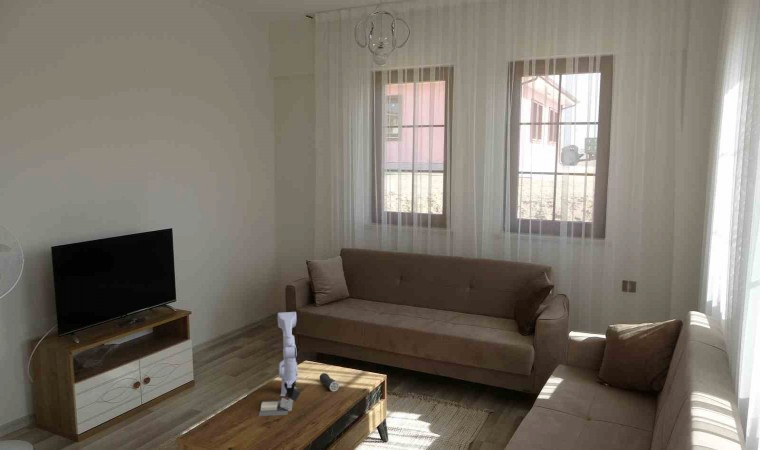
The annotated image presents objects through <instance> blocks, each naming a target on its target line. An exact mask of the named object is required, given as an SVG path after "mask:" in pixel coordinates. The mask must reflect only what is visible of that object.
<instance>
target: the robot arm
mask: <svg viewBox="0 0 760 450" xmlns="http://www.w3.org/2000/svg"><path fill="white" fill-rule="evenodd" d="M296 325H297V312H296V311H290V312H289V311H287V312H286V311H285V312H283V311H282V312H280V311H279V312H278V313H277V326H278V328H280V329H281V331H282V336H283V337H282V339H283V343H282V344H283V349H282V355H283V359H282V360H281V361H280V362H279V363H278V377H279V378H281V389H280V390H281V391H280V397H286V396H285V394H286V392H287V395H288V397H292V396H293V390H294V388H296V386H297V385H296V382H297V381H298V380H299V377H298V375H299V373H298V362H297V360H296V358H297V355H298V353H297V350H298V349H297V346H296V341H295V335H293V334H292V333H293V332H292V331H293V328H295V327H296ZM288 397H287V398H288Z"/></svg>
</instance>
